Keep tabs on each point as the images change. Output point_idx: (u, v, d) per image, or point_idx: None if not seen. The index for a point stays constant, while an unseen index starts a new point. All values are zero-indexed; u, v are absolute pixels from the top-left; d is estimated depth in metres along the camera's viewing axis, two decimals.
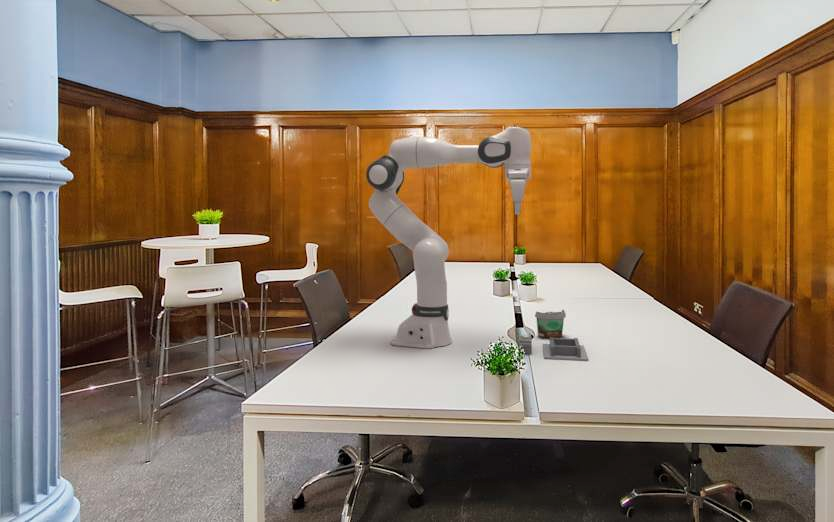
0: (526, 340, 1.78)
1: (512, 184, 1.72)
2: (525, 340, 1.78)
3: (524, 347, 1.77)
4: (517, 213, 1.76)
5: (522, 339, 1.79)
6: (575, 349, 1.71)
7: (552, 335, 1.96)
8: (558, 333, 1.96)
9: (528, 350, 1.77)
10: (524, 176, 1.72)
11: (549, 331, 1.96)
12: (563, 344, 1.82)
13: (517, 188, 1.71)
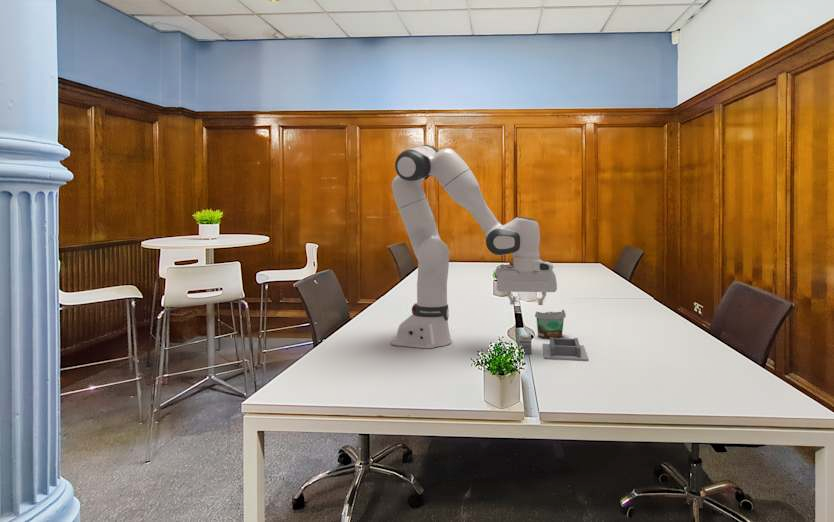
0: (526, 340, 1.78)
1: (555, 276, 1.74)
2: (525, 340, 1.78)
3: (524, 347, 1.77)
4: (542, 303, 1.77)
5: (522, 339, 1.79)
6: (575, 349, 1.71)
7: (552, 335, 1.96)
8: (558, 333, 1.96)
9: (528, 350, 1.77)
10: None
11: (549, 331, 1.96)
12: (563, 344, 1.82)
13: None
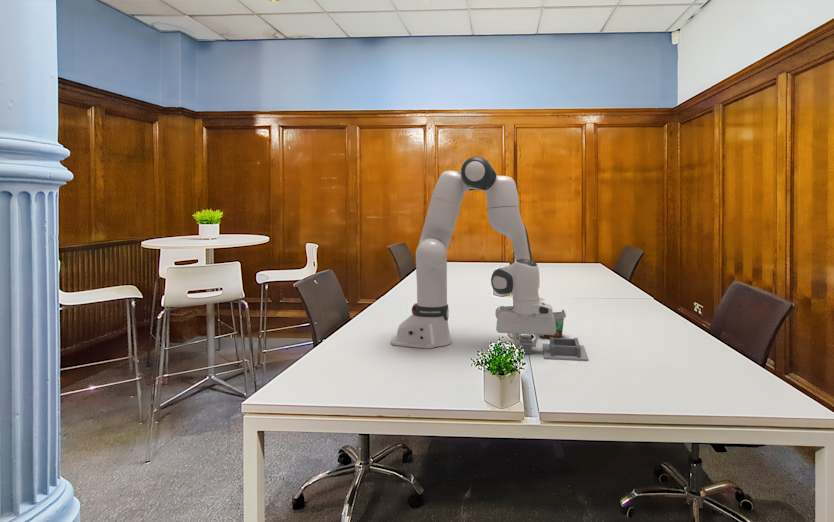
0: (526, 340, 1.78)
1: (554, 319, 1.76)
2: (525, 340, 1.78)
3: (524, 347, 1.77)
4: (535, 345, 1.80)
5: (522, 339, 1.79)
6: (575, 349, 1.71)
7: (552, 335, 1.96)
8: (558, 333, 1.96)
9: (528, 349, 1.77)
10: None
11: None
12: (563, 344, 1.82)
13: None
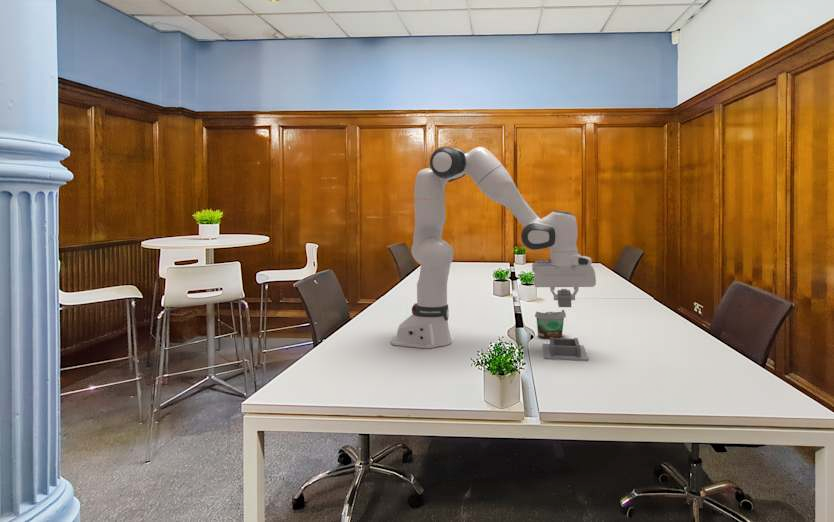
0: (565, 293, 1.73)
1: (594, 271, 1.71)
2: (564, 293, 1.73)
3: (563, 300, 1.72)
4: (574, 298, 1.75)
5: (561, 292, 1.74)
6: (575, 349, 1.71)
7: (552, 335, 1.96)
8: (558, 333, 1.96)
9: (568, 302, 1.72)
10: None
11: (549, 331, 1.96)
12: (563, 344, 1.82)
13: None
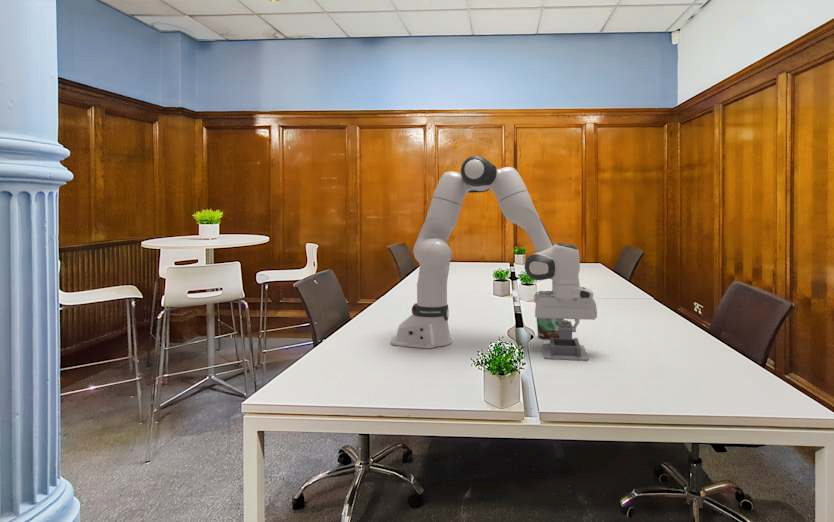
0: (566, 325, 1.74)
1: (595, 304, 1.72)
2: (565, 325, 1.74)
3: (564, 332, 1.74)
4: (575, 330, 1.76)
5: (562, 324, 1.76)
6: (575, 349, 1.71)
7: (552, 335, 1.96)
8: None
9: (569, 334, 1.73)
10: None
11: (549, 331, 1.96)
12: (563, 344, 1.82)
13: None
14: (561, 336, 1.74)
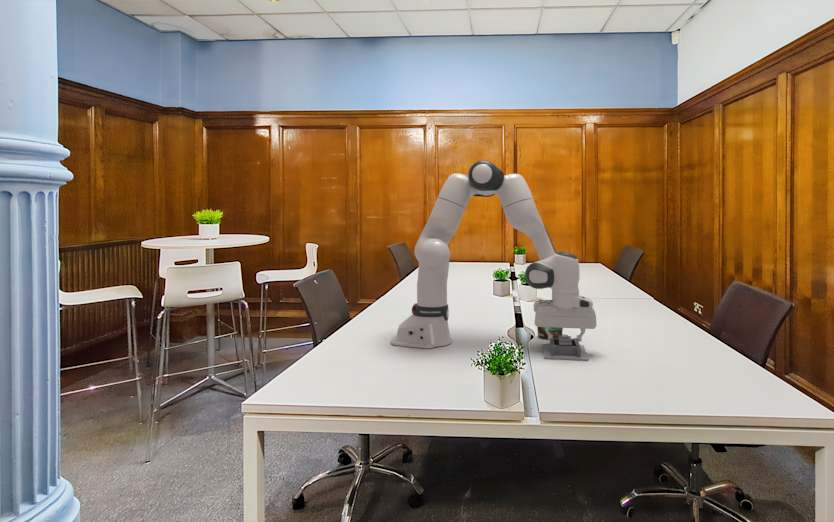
0: (566, 340, 1.75)
1: None
2: (565, 340, 1.75)
3: None
4: None
5: (561, 338, 1.76)
6: (575, 349, 1.71)
7: None
8: (558, 333, 1.96)
9: None
10: None
11: (549, 331, 1.96)
12: None
13: None
14: None
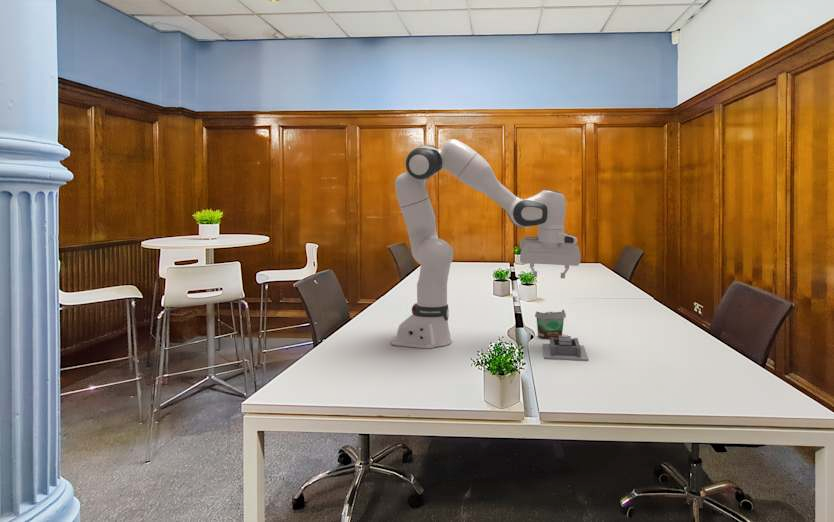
0: (566, 340, 1.75)
1: (579, 250, 1.76)
2: (565, 340, 1.75)
3: None
4: None
5: (561, 338, 1.76)
6: (575, 349, 1.71)
7: (552, 335, 1.96)
8: (558, 333, 1.96)
9: None
10: None
11: (549, 331, 1.96)
12: None
13: None
14: None
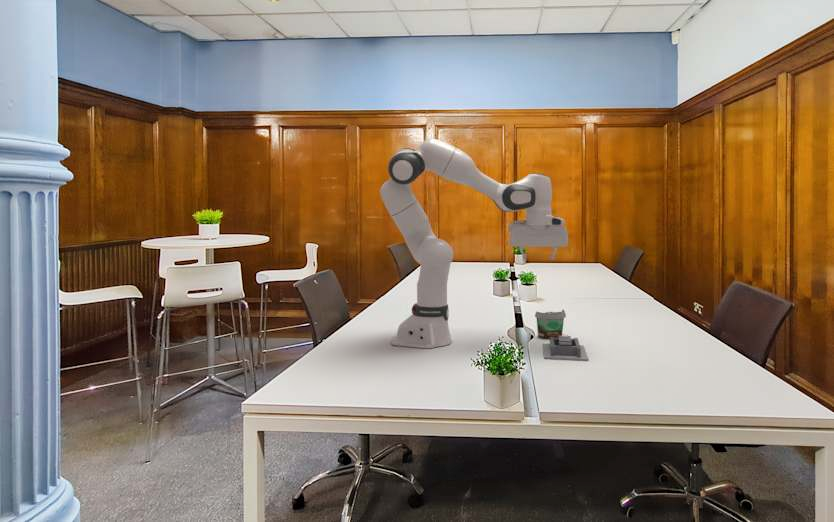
0: (566, 340, 1.75)
1: None
2: (565, 340, 1.75)
3: None
4: None
5: (561, 338, 1.76)
6: (575, 349, 1.71)
7: (552, 335, 1.96)
8: (558, 333, 1.96)
9: None
10: None
11: (549, 331, 1.96)
12: None
13: None
14: None
